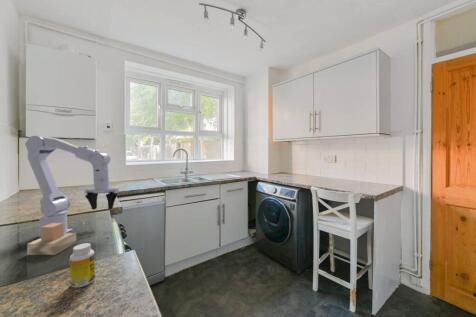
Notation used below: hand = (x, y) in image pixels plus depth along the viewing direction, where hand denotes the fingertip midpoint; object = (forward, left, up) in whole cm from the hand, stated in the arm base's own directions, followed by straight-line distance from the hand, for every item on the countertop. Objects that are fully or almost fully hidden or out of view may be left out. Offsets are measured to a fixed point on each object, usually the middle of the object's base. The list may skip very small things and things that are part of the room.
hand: (102, 208), depth 98 cm
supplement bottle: (+20, -38, -11) cm, 44 cm away
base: (-8, -17, -10) cm, 21 cm away
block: (-8, -17, -6) cm, 20 cm away
